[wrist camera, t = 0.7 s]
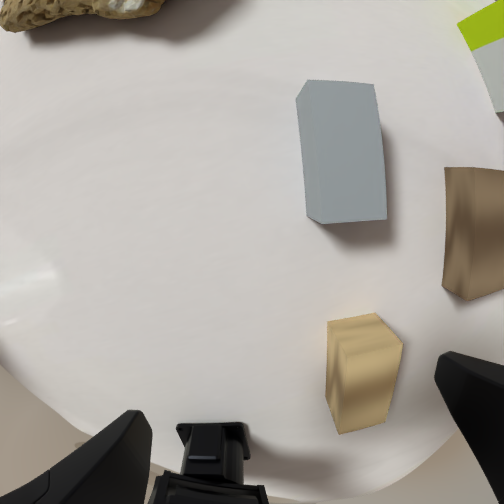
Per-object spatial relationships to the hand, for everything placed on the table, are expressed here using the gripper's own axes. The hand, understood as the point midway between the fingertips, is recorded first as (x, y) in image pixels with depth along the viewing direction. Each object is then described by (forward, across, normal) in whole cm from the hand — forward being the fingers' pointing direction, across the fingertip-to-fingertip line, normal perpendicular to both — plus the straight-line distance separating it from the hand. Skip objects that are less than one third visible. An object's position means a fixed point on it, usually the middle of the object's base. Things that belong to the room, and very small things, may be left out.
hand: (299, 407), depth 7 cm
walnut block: (+13, -19, -1) cm, 23 cm away
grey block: (+13, -6, -7) cm, 16 cm away
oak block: (+13, -6, +9) cm, 17 cm away
